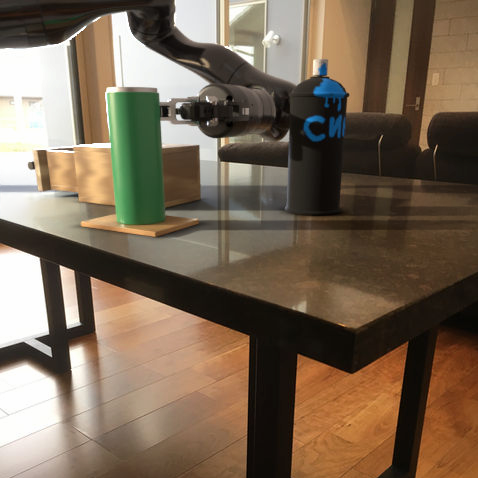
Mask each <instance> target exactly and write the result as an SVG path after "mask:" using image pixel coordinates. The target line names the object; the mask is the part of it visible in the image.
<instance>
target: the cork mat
mask: <svg viewBox="0 0 478 478" xmlns="http://www.w3.org/2000/svg"><path fill="white" fill-rule="evenodd" d="M165 216H166V219H165V221H163V222H160V223H155V224H147V225H128V224H122V223H119V222H117V220H116V213H114V214H113V213H112V214H108V215H104V216H100V217H95V218H91V219H86V220H83V221H80V227H84V228H90V229H97V230H103V231H104V230H105V231H110V232H111V231H112V232H118V233H124V234H125V233H126V234H132V235H139V236H144V237H145V236H146V237H153V238H157V237H161V236H163V235H167V234H170V233H174V232H176V231H181V230H183V229H186V228H187V229H188V228H189V227H192V226H196V225H199V224H200V219H199V218H191V217H183V216H175V215H166V214H165Z"/></svg>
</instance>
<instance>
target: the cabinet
mask: <svg viewBox="0 0 478 478" xmlns="http://www.w3.org/2000/svg"><path fill="white" fill-rule="evenodd" d="M72 146H73V150H74V159H75V168H76V177H77V186H78V192H77V194H78V195H77V196H78V201H79V202H81V203H89V204H99V205H105V206H114V207H115V197H114V185H113V174H112V162H111V151H110V142H106V143H92V144H90V143H89V144H79V145H78V144H77V145H72ZM200 147H201V145H200V144H188V143H187V144H184V143H163V142H162V157H163V177H164V196H165V209H167V208H170V207H174V206H179V205H183V204H186V203H190V202H195V201H199V200H201V199H202V191H201V190H202V188H201V187H202V186H201V153H200V152H201V151H200V150H201V149H200Z"/></svg>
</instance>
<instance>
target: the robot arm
mask: <svg viewBox="0 0 478 478" xmlns="http://www.w3.org/2000/svg"><path fill="white" fill-rule="evenodd" d="M176 7H177V6H176V0H0V50H32V49H40V48H49V47H50V48H51V47H55V46H59V45H62V44H64V43H66V42H68V41H69V40H72V38H74V37H75V36H77V34H79V33H80V32H81V31H83V30H84V29H85V28H86V27H88V26H89V25H90V24H92V23H93V22H95V21H97V20H98V19H100V18H103V17H106V16H111V15H116V14H120V13H125V18H126V25H127V30H128V32H129V34H130V36H131V37H132V38H133V39H134V40H135V41H137V42H138V43H139V44H140V45H142V46H144V47H145V48H147V49H148V50H150V51H152V52H154V53H156V54H158V55H160V56H162V57H163V58H166V60H167V59H168V60H169V61H171V62H173V63H175V64H177V65H178V66H180V67H182V68H184V69H186V70H187V71H189V72H191V73H193V74H195V75H196V76H197V77H199V78H201V79H202V80H203V81H205V82H206V83H208V84H207V85H205V86H203V87H202V88H201V89H200V90H199V92H198V93H197V95H196V96H187V97H186V98H184V97H171V98H168V99H167V101H160V118H161V122H168V123H169V124H170V125H187V126H189V127H197V128H198V129H199V131H200V132H201V133H202V134H204V135H205V136H206V137H208V138H211V139H226V138H228V139H229V138H238V137H239V138H240V137H244V136H246V135H255V136H258V137H260V138H261V139H263V140H264V141H267V142H269V143H278V142H281V141H282V140H283V139H284V138H285V137H286V136H287V134H289V127H290V99H291V97H289V94H290V93H292V91H293V89H294V88H295V87H296V86H297V85H298V84H296V83H294V82H291V81H289V80H286V79H284V78H280V77H278V76H274V75H272V74H269V73H267V72H265V71H262V70H261V69H259V68H257V67H256V66H254V65H253V64H251V63H250V62H248V61H247V60H246V59H245V58H243V57H242V56H241V55H239V54H238V53H237V52H236V51H234V50H232V49H231V48H230V47H228V46H225V45H222V44H219V43H214V42H198V41H195V40H192V39H190V38H189V37H188V36H186V35H185V34H184V33H183V32H182V31H181V29H179V28H178V27H177V26H176V9H177V8H176ZM178 103H181V104H180V106H179V107H177V104H178ZM177 116H180V118H181V120H179V119H178V118H177Z"/></svg>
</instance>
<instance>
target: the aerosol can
mask: <svg viewBox="0 0 478 478" xmlns="http://www.w3.org/2000/svg"><path fill="white" fill-rule="evenodd" d="M328 70H329V59H328V58H314V59H313V64H312V76H310V78H307V79H305V80H303V81H301V82H299V83H298V84H296V85H297V86H296V87H295V88H294V89H293V91H292V93H290V94H289V97H291V99H290V127H289V131H288V161H287V188H286V206H285V207H284V210H285V212H287V213H290V214H294V215H302V216H331V215H336V214H339V213H340V212H341V211H342V207H340V203H341V191H342V176H343V162H344V150H345V149H344V148H345V137H346V122H347V110H348V109H347V108H348V107H347V106H348V98H349V97H350V93H349V92H347V90H346V88H345V87H344V85H343V84H342V83H341V82H339V81H337V80H335V79H332V78H330V76H328V72H329V71H328Z"/></svg>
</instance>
